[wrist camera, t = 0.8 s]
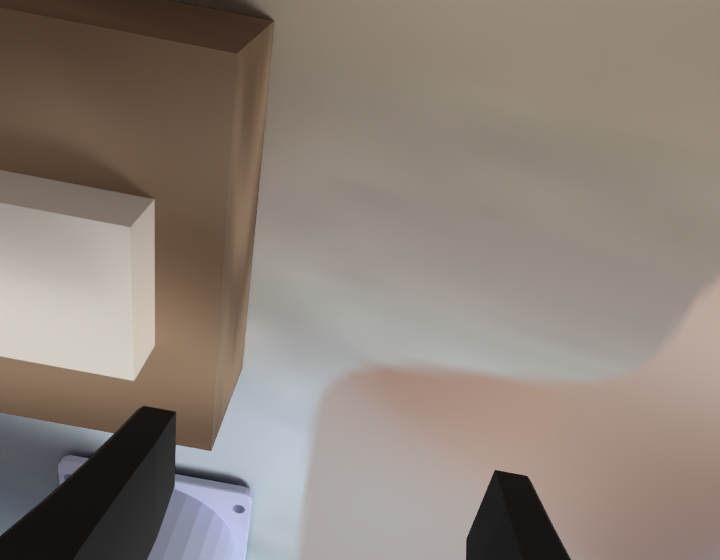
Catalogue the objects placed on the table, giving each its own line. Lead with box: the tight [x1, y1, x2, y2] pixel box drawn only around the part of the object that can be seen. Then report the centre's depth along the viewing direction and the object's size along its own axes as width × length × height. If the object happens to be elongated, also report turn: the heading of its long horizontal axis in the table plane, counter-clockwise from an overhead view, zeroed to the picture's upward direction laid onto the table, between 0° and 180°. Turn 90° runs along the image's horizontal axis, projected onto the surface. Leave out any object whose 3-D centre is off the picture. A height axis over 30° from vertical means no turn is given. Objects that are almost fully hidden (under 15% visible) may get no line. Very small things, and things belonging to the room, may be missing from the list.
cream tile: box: [0, 170, 155, 381], centre depth 16 cm, size 4×4×2 cm
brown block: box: [0, 0, 274, 451], centre depth 18 cm, size 12×13×4 cm
